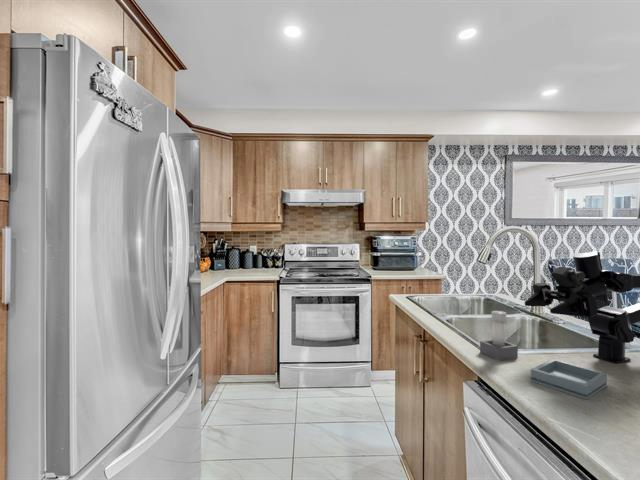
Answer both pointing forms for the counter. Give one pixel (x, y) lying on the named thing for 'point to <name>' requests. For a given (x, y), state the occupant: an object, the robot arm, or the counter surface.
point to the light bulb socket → (499, 350)
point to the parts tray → (569, 378)
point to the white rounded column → (498, 328)
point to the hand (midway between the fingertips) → (537, 307)
